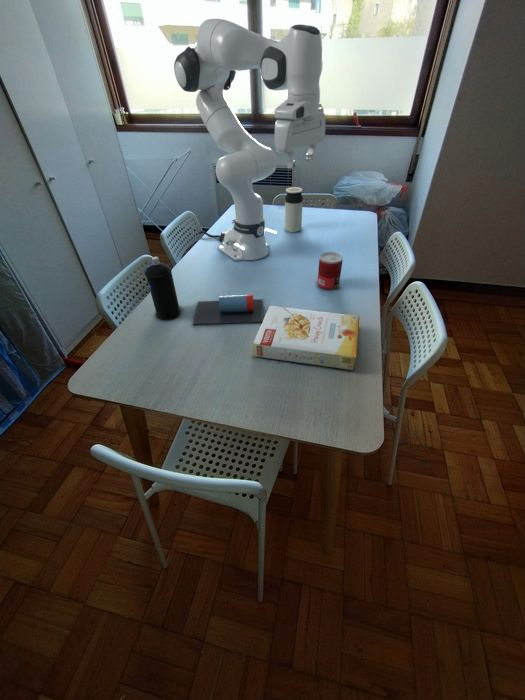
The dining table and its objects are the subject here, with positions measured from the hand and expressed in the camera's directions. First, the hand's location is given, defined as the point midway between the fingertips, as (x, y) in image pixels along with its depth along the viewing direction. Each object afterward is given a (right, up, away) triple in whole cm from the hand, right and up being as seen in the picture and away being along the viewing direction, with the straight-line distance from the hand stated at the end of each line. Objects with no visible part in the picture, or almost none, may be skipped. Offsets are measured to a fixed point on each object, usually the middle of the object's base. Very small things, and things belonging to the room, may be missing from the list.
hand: (300, 164), depth 103 cm
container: (-25, -40, +12) cm, 48 cm away
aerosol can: (-43, -42, +15) cm, 62 cm away
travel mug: (+3, +3, +65) cm, 65 cm away
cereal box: (+2, -53, +1) cm, 53 cm away
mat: (-22, -42, +14) cm, 50 cm away
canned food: (+13, -31, +26) cm, 42 cm away
